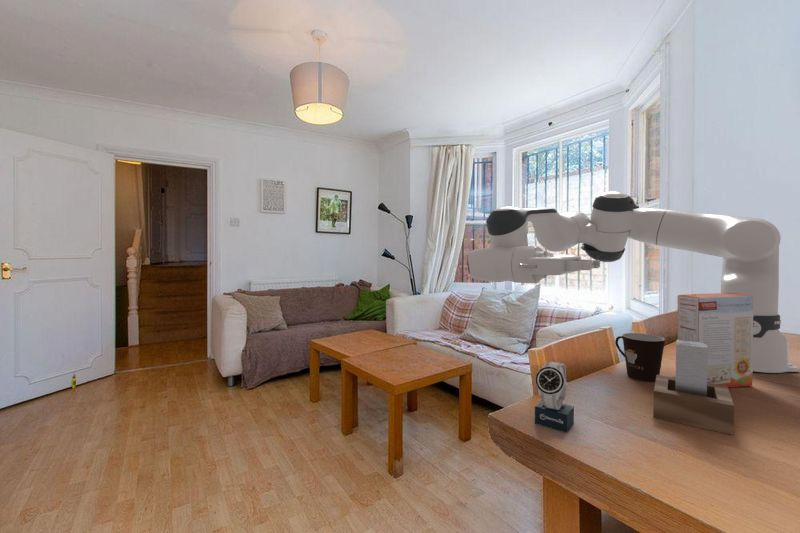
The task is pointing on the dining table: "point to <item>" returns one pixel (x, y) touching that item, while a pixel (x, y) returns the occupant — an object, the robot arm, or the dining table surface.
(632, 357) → the coffee mug
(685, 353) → the grey brushed metal pillar
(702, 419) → the well block
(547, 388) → the watch
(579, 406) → the dining table surface
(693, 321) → the cracker box
